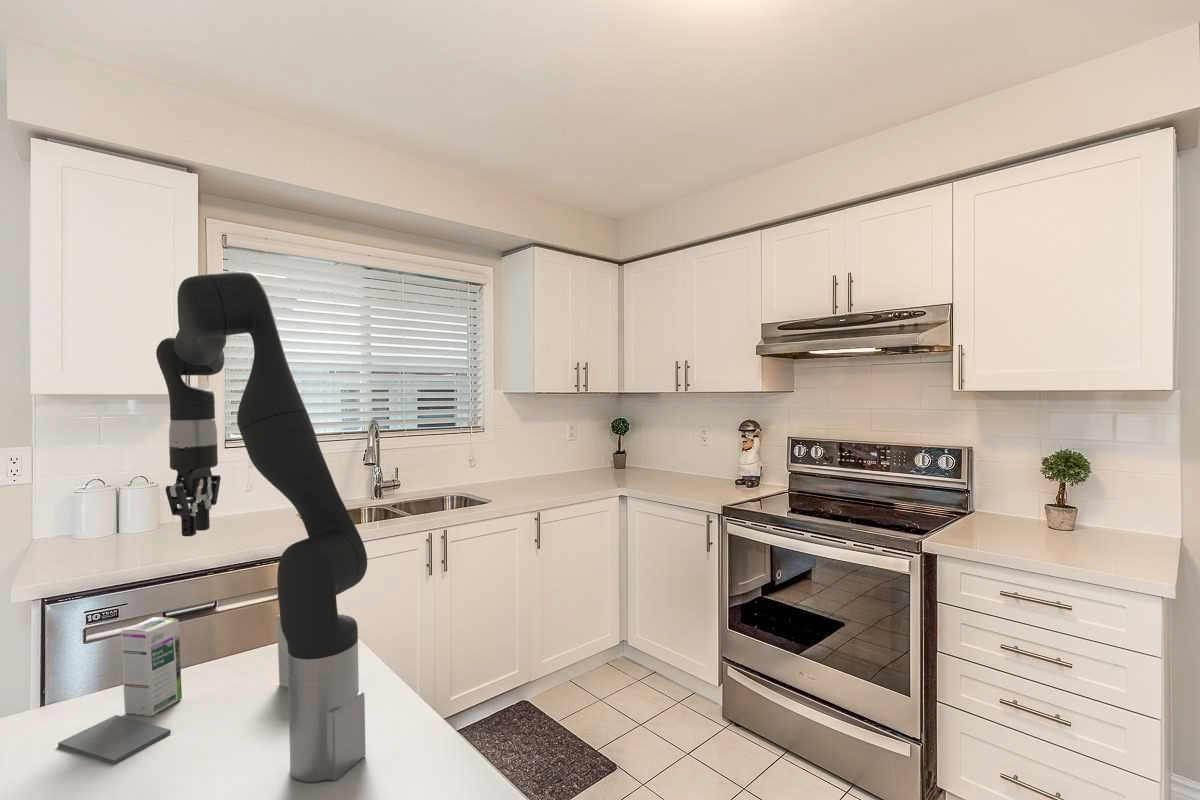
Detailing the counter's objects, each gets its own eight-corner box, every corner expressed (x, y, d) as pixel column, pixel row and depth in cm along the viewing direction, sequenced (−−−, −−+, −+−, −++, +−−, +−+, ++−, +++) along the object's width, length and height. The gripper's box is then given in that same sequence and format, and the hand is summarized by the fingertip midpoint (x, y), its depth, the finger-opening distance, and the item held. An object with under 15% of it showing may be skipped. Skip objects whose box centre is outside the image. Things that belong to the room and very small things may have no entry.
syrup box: (151, 717, 97) (149, 631, 97) (122, 714, 98) (120, 628, 98) (182, 699, 103) (180, 617, 102) (154, 696, 104) (152, 615, 104)
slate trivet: (170, 733, 93) (170, 729, 93) (114, 764, 85) (114, 760, 85) (116, 718, 97) (116, 714, 97) (58, 746, 89) (58, 742, 89)
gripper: (195, 440, 118) (197, 524, 118) (147, 447, 104) (150, 543, 104) (234, 439, 119) (236, 523, 119) (192, 446, 104) (194, 542, 105)
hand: (195, 532), depth 112 cm, fingers open, 3 cm apart
